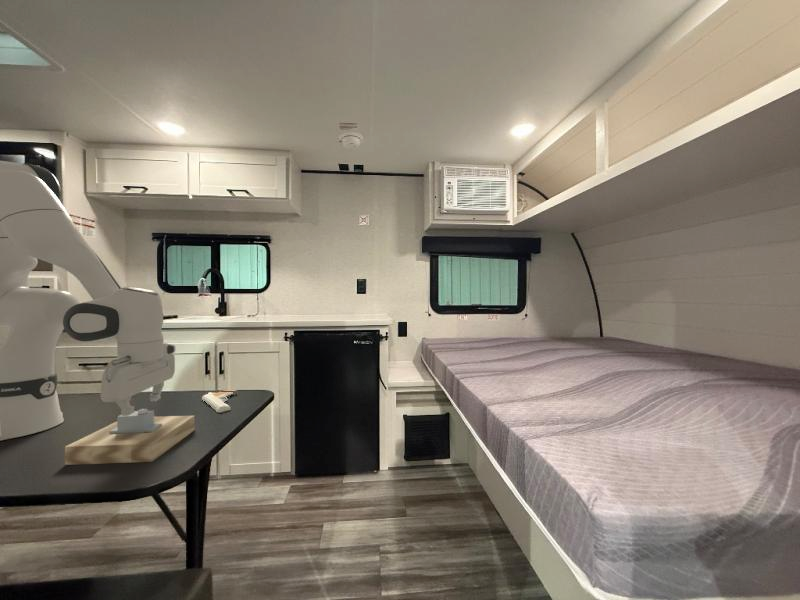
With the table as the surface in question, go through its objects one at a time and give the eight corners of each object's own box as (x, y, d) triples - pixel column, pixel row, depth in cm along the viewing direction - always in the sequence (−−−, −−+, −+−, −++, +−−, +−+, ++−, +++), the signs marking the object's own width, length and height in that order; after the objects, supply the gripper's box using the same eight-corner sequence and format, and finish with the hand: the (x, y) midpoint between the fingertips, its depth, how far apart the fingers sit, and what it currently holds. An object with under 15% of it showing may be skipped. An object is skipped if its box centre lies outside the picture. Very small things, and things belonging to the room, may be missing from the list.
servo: (109, 450, 73) (109, 413, 73) (120, 443, 76) (120, 408, 76) (152, 448, 74) (152, 412, 74) (162, 441, 77) (161, 407, 77)
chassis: (65, 464, 67) (64, 446, 67) (125, 432, 83) (125, 417, 82) (152, 461, 68) (152, 443, 68) (194, 429, 84) (194, 415, 84)
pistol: (254, 405, 104) (217, 415, 96) (231, 392, 117) (197, 400, 109) (254, 398, 104) (217, 407, 96) (231, 386, 117) (197, 393, 109)
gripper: (122, 361, 66) (123, 424, 67) (179, 345, 86) (180, 393, 87) (89, 362, 65) (91, 425, 66) (155, 345, 86) (156, 393, 86)
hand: (142, 407), depth 76 cm, fingers open, 8 cm apart
